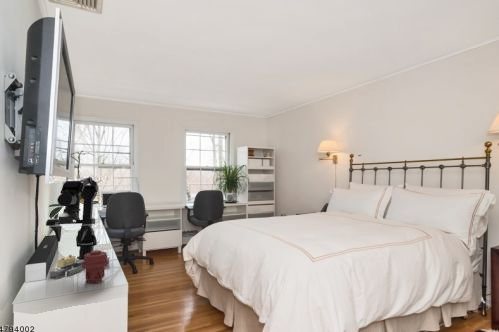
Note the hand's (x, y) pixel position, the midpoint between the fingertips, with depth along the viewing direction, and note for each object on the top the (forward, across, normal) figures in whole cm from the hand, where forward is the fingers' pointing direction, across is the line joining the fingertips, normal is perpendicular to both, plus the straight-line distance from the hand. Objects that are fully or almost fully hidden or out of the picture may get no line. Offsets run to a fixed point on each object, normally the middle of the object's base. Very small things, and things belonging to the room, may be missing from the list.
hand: (70, 241), depth 130 cm
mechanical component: (+16, +15, -12) cm, 25 cm away
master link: (+13, -6, +13) cm, 19 cm away
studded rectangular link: (+14, -1, +3) cm, 14 cm away
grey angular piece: (+13, +11, +9) cm, 20 cm away
